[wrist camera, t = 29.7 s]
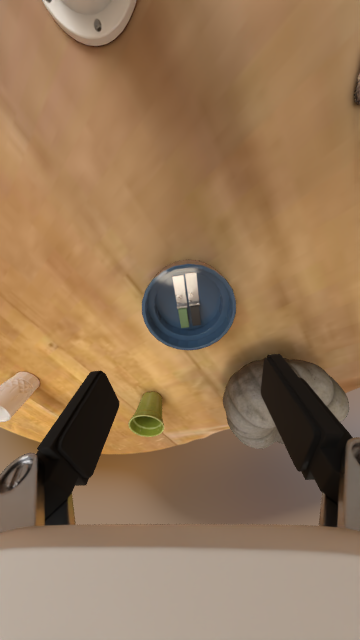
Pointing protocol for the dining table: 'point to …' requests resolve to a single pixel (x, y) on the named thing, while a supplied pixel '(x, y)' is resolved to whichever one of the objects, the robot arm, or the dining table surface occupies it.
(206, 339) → the bowl
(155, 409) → the plant pot
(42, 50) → the dining table surface
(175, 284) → the green knife
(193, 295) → the black knife
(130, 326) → the dining table surface
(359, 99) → the grey tall irregular piece
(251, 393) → the gourd
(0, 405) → the white cup
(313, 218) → the dining table surface
